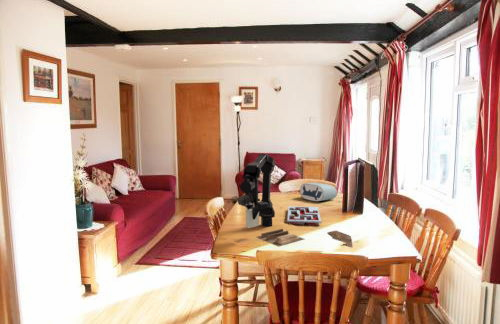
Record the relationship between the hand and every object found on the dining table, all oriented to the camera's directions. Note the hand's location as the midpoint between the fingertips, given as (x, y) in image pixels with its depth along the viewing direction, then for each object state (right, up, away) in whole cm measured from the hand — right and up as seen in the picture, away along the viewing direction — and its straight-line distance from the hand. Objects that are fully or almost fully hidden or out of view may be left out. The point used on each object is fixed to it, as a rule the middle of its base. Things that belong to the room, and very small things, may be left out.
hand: (252, 218), depth 184 cm
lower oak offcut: (+17, -10, -4) cm, 21 cm away
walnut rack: (+14, -11, +1) cm, 18 cm away
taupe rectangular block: (0, -4, 0) cm, 4 cm away
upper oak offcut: (+17, -9, -4) cm, 20 cm away
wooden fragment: (+47, -11, +2) cm, 48 cm away
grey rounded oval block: (+52, 0, +95) cm, 108 cm away
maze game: (+33, -7, +43) cm, 54 cm away
